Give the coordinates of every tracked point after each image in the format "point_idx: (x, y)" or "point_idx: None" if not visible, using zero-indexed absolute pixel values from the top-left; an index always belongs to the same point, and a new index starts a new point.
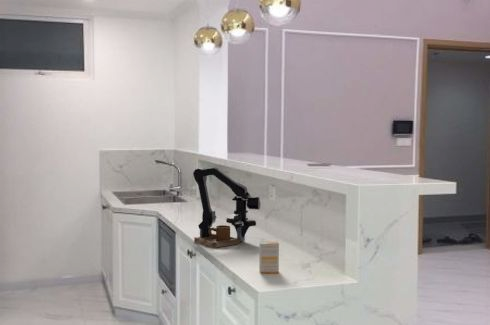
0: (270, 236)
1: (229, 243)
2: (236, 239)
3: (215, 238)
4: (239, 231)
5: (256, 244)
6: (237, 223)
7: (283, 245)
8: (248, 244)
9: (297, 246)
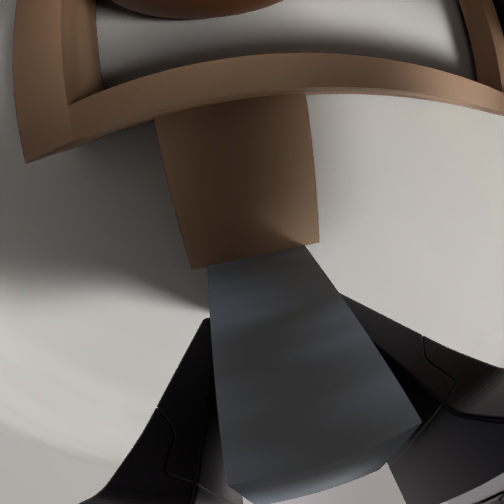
0: None
1: None
2: (19, 104)
3: (479, 59)
4: (275, 380)
5: (30, 333)
6: (483, 489)
7: (23, 418)
8: (30, 266)
9: (15, 431)
